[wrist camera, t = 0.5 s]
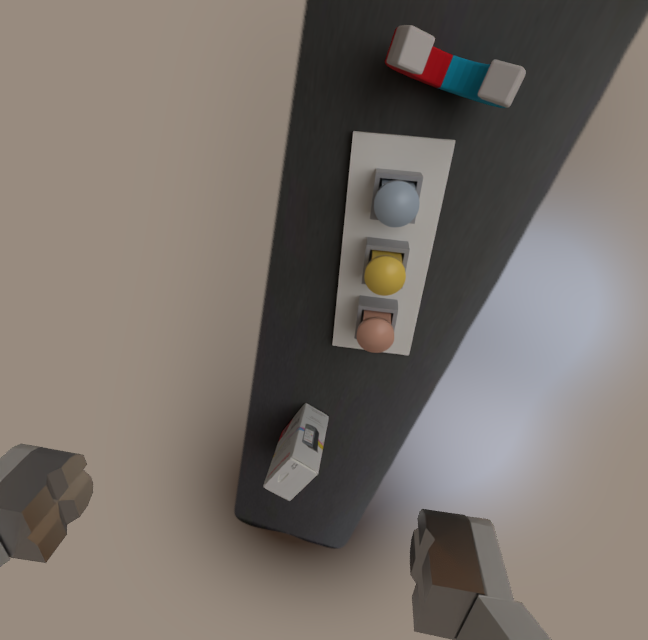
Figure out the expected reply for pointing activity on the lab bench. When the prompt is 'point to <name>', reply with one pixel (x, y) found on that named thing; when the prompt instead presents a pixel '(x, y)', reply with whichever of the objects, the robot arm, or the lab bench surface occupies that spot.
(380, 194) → the slate button
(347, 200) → the console
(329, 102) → the lab bench surface
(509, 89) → the magnet
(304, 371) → the lab bench surface
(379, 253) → the ochre button
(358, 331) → the terracotta button
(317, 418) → the ink box
